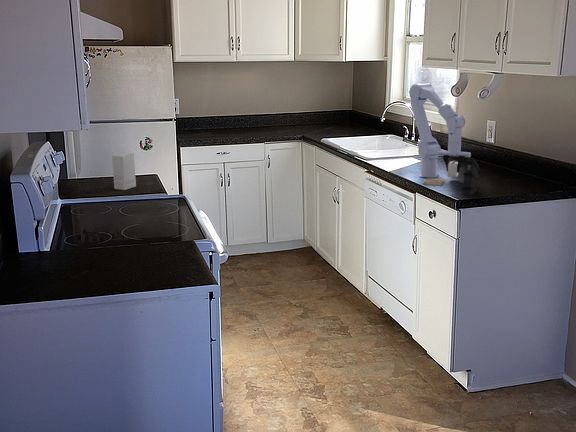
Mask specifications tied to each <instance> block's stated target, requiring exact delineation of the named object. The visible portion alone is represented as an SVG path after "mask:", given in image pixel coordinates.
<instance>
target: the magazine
mask: <svg viewBox="0 0 576 432" xmlns="http://www.w3.org/2000/svg"><path fill="white" fill-rule="evenodd" d="M464 163H465V170H464V172H463V176H464V177H463V186H462V187H461V188H462V189H461V190H462V195H463V196H464V195H465V196H466V197H471V196H472V195H473V194H474V193H477V188H479V186H478V180H479V176H478V175H479V172H480V170H481V169H480V166H479V164H478V162H477V161H476V160H475V159H474V158H466V160H465V161H464Z"/></svg>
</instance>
